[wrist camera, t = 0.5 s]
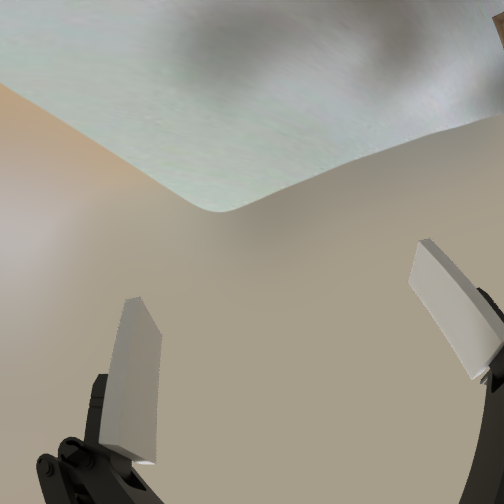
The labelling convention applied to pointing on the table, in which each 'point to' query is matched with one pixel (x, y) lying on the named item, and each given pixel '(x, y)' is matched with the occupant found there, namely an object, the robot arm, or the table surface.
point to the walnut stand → (500, 26)
